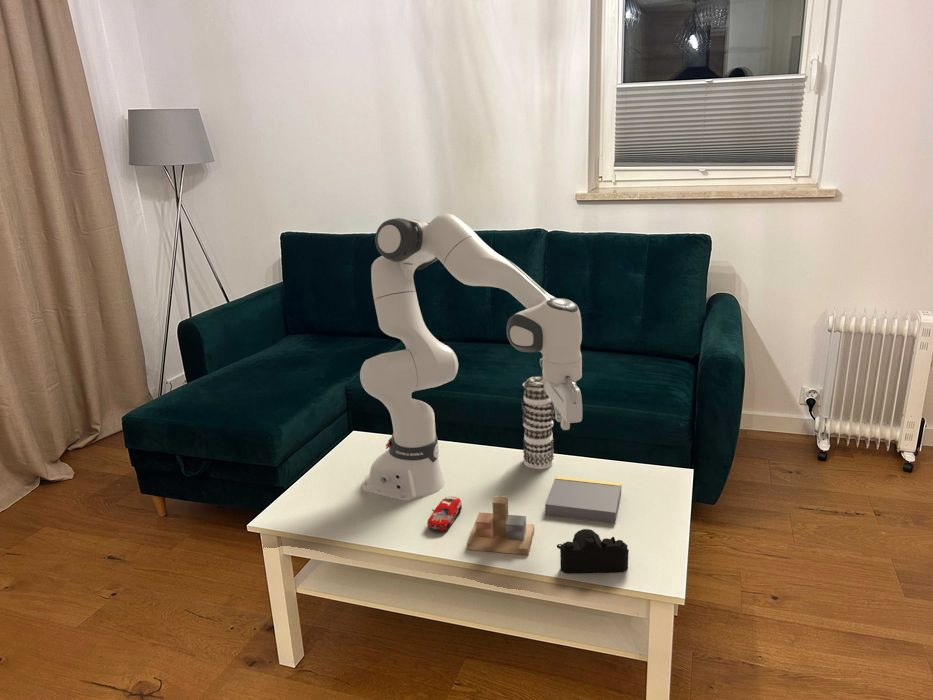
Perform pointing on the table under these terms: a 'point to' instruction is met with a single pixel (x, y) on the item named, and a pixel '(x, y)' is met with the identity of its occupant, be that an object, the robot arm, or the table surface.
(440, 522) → the race car
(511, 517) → the gray cube
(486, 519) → the terracotta crate
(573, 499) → the plate
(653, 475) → the table surface
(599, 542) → the film camera
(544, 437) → the decorative candle
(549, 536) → the table surface
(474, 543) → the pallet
